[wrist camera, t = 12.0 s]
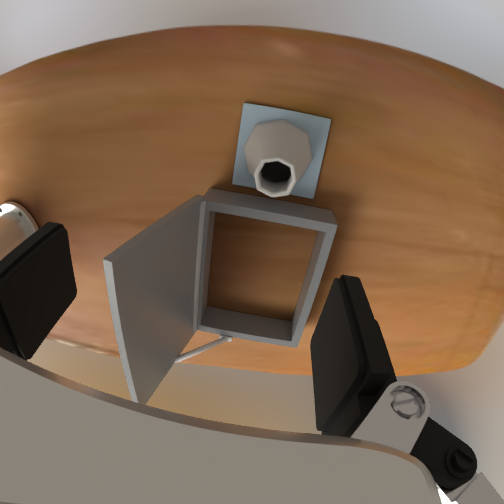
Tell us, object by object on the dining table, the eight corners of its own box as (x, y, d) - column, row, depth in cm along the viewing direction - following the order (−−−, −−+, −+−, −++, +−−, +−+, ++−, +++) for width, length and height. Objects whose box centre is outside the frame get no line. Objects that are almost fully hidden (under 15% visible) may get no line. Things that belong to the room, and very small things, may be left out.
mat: (232, 183, 33) (232, 184, 33) (244, 102, 29) (243, 103, 28) (312, 197, 33) (313, 199, 33) (330, 119, 29) (331, 119, 28)
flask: (239, 179, 33) (222, 214, 24) (248, 113, 29) (232, 122, 20) (305, 190, 32) (313, 229, 24) (318, 125, 29) (333, 139, 20)
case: (195, 309, 43) (186, 332, 39) (204, 187, 34) (192, 202, 30) (296, 327, 43) (296, 352, 38) (332, 210, 34) (338, 228, 30)
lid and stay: (171, 322, 41) (134, 410, 28) (172, 187, 31) (101, 260, 18) (232, 335, 41) (212, 430, 28) (254, 200, 31) (231, 287, 18)
